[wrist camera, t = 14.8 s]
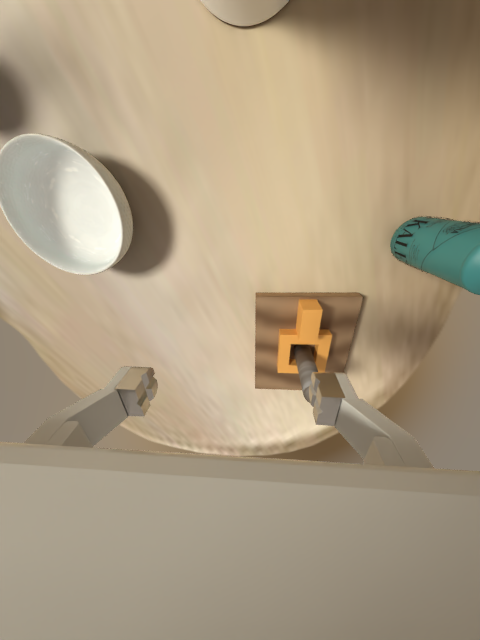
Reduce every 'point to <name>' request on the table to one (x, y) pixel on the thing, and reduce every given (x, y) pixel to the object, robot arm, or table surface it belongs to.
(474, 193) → the table surface
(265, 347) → the keeper board
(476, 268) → the beverage bottle
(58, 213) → the cereal bowl
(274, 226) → the table surface
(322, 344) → the loop fitting
